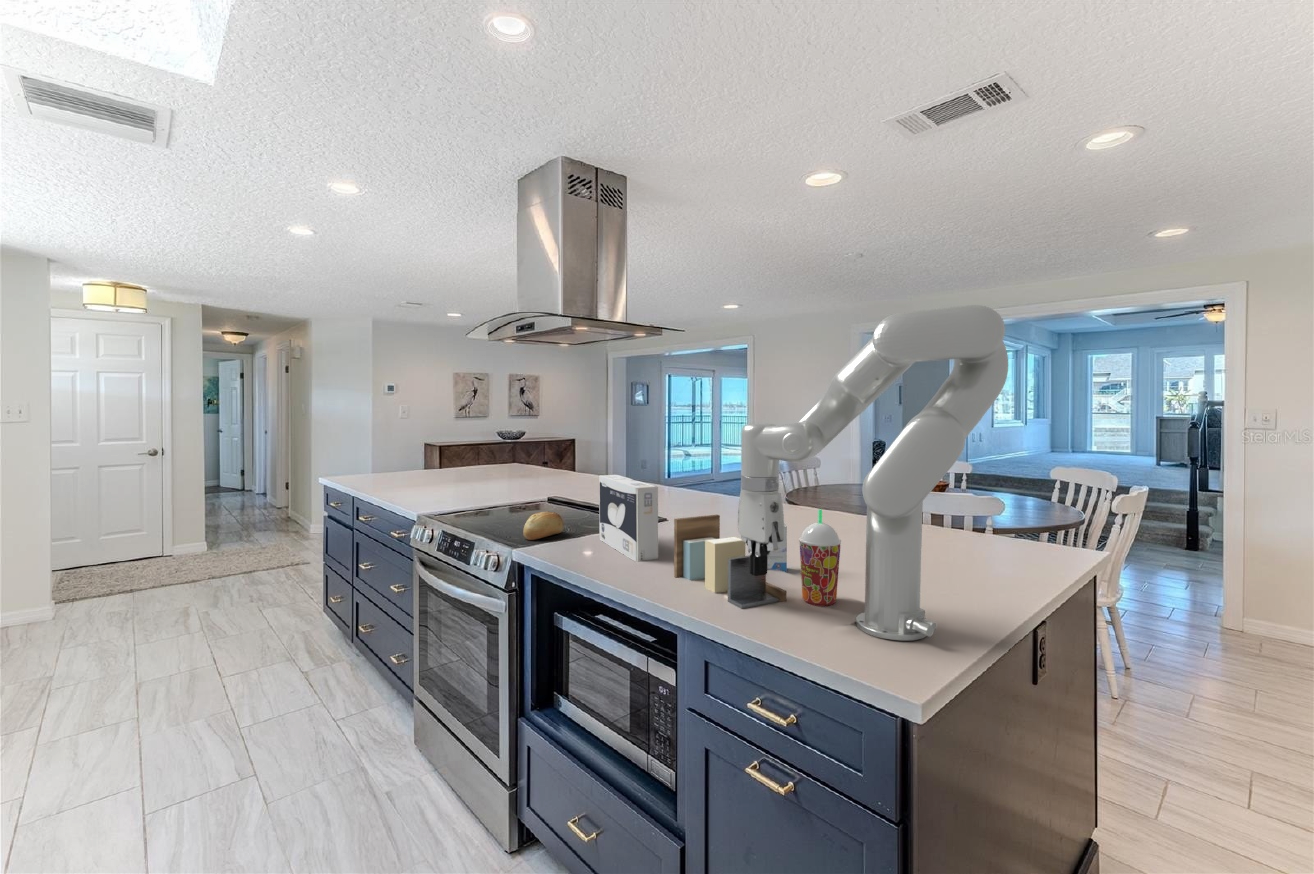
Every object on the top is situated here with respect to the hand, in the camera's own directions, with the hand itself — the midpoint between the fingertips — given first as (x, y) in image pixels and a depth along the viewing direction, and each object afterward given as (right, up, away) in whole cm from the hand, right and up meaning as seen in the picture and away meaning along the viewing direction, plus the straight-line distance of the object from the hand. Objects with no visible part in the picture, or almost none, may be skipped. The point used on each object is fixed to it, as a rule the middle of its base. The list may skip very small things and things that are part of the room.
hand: (758, 574), depth 120 cm
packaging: (-29, -5, +51) cm, 59 cm away
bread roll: (-56, -4, +67) cm, 88 cm away
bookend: (-1, -6, +2) cm, 7 cm away
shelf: (-5, -7, +12) cm, 14 cm away
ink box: (+7, -6, +29) cm, 30 cm away
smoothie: (+13, -7, +3) cm, 15 cm away
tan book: (-5, -6, +12) cm, 14 cm away
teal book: (-10, -6, +21) cm, 23 cm away
